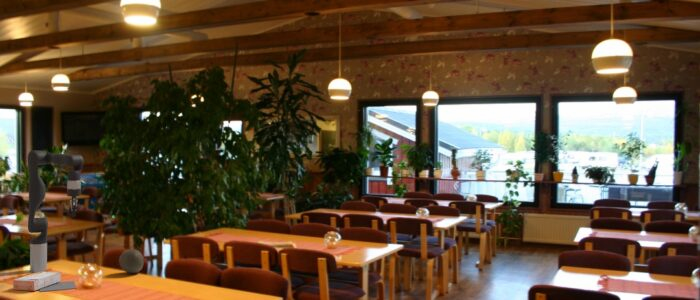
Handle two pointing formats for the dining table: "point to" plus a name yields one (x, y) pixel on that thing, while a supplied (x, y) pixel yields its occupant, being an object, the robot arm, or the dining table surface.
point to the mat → (59, 286)
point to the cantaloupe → (131, 261)
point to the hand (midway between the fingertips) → (73, 216)
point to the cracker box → (36, 280)
